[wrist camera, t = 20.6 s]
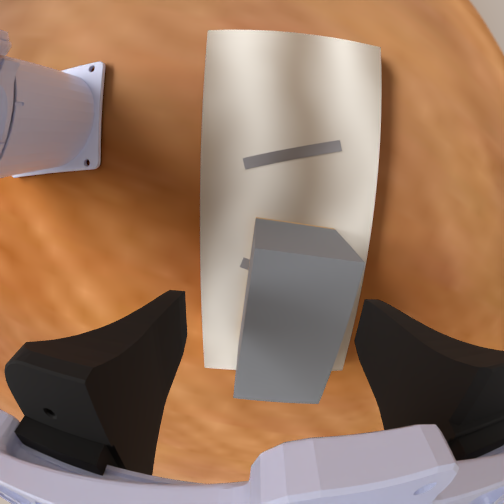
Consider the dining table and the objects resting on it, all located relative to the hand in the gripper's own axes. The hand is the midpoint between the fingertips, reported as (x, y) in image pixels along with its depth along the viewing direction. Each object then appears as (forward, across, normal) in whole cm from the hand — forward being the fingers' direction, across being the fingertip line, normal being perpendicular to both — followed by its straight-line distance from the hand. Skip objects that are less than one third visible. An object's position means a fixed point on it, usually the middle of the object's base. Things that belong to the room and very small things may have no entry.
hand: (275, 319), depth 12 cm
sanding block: (+8, -1, +2) cm, 8 cm away
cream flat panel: (+9, -1, -2) cm, 10 cm away
